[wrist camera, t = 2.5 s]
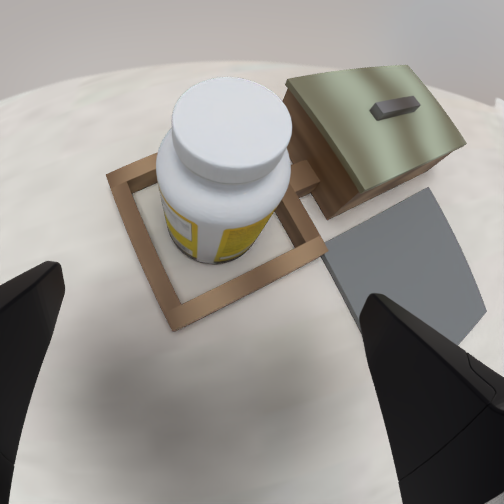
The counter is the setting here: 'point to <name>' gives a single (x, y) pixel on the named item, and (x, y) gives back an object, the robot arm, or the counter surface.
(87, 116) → the counter surface
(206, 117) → the pill bottle
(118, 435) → the counter surface
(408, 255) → the slate mat
